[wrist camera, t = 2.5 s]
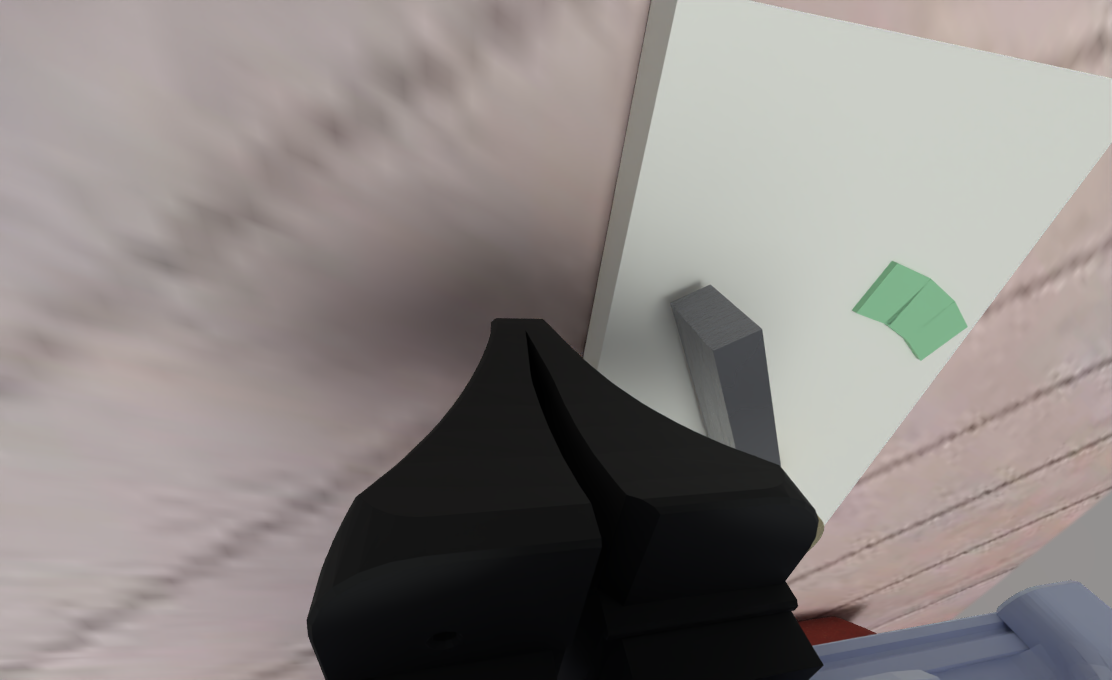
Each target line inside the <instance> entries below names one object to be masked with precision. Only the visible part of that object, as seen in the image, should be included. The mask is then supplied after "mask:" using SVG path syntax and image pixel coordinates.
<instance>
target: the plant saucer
mask: <svg viewBox="0 0 1112 680" xmlns="http://www.w3.org/2000/svg"><path fill="white" fill-rule="evenodd" d="M798 623H799V625H800V627H801V628H802V630H803V631H804V633H805V635H806V636H807V638H808V640H809V641H810V643H811V645H812V646H813V645H819V644H824V643H830V642H835V641H841V640H846V639H851V638H857V637H862V636H868V635H873V634H876V633H874V632H872V631H870V630H868V629H866V628H863V627H861V626H858V625H856V624H853V623H851V622H848V621H846V620H843V619H841V618H837V617H834V616H831V617H824V618H817V619H811V620H805V621H799V622H798Z"/></svg>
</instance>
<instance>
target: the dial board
mask: <svg viewBox="0 0 1112 680" xmlns="http://www.w3.org/2000/svg"><path fill="white" fill-rule="evenodd" d="M1111 143H1112V78H1108V77H1103V76H1099V75H1094V74H1089V73H1085V72H1080V71H1075V70H1071V69H1066V68H1061V67H1057V66H1052V65H1047V64H1043V63H1038V62H1033V61H1029V60H1024V59H1019V58H1015V57H1010V56H1005V55H1001V54H996V53H992V52H987V51H982V50H978V49H973V48H968V47H964V46H959V45H954V44H950V43H945V42H940V41H936V40H931V39H926V38H922V37H917V36H912V35H908V34H903V33H898V32H894V31H889V30H884V29H880V28H875V27H870V26H866V25H861V24H856V23H852V22H847V21H843V20H838V19H833V18H829V17H824V16H819V15H815V14H810V13H805V12H801V11H796V10H791V9H787V8H782V7H777V6H773V5H768V4H763V3H759V2H754V1H749V0H651V5H650V11H649V16H648V21H647V26H646V31H645V37H644V42H643V47H642V52H641V58H640V63H639V68H638V73H637V79H636V84H635V89H634V94H633V100H632V105H631V110H630V115H629V120H628V126H627V131H626V136H625V141H624V147H623V152H622V157H621V162H620V168H619V173H618V178H617V183H616V188H615V194H614V199H613V204H612V209H611V215H610V220H609V225H608V230H607V236H606V241H605V246H604V251H603V256H602V262H601V267H600V272H599V277H598V283H597V288H596V293H595V298H594V304H593V309H592V314H591V319H590V325H589V330H588V335H587V340H586V345H585V351H584V356H583V359H584V360H585V361H587V362H588V363H589V364H590V365H591V366H592V367H593V368H595V369H596V370H597V371H598V372H600V373H601V374H602V375H603V376H605V377H606V378H607V379H608V380H610V381H611V382H612V383H614V384H615V385H616V386H618V387H619V388H621V389H622V390H624V391H625V392H627V393H628V394H629V395H631V396H632V397H634V398H635V399H637V400H638V401H640V402H642V403H643V404H645V405H647V406H648V407H650V408H652V409H653V410H655V411H657V412H659V413H661V414H662V415H664V416H666V417H668V418H670V419H671V420H673V421H675V422H677V423H679V424H681V425H683V426H685V427H687V428H689V429H691V430H693V431H695V432H697V433H700V434H702V435H704V436H706V437H709V436H708V433H707V429H706V426H705V422H704V419H703V416H702V412H701V409H700V405H699V402H698V398H697V395H696V391H695V388H694V384H693V381H692V377H691V374H690V370H689V367H688V364H687V360H686V357H685V353H684V350H683V346H682V343H681V339H680V336H679V332H678V329H677V325H676V322H675V319H674V315H673V312H672V308H671V305H670V303H671V302H673V301H675V300H677V299H679V298H682V297H684V296H686V295H688V294H690V293H693V292H695V291H697V290H699V289H701V288H704V287H706V286H708V285H710V284H711V285H712V286H713V287H714V288H715V289H716V290H718V291H719V292H720V293H721V294H722V295H723V296H725V297H726V298H727V299H728V300H729V301H730V302H731V303H733V304H734V305H735V306H736V307H737V308H738V309H740V310H741V311H742V312H743V313H744V314H745V315H747V316H748V317H749V318H750V319H751V320H752V321H753V322H755V323H756V324H757V325H758V326H759V327H760V328H762V331H763V338H764V345H765V353H766V360H767V367H768V375H769V382H770V389H771V397H772V404H773V411H774V419H775V426H776V433H777V441H778V448H779V455H780V463H781V468H782V469H783V470H784V471H785V472H786V474H787V475H788V476H789V477H790V479H791V480H792V481H793V482H794V484H795V485H796V486H797V487H798V489H799V490H800V491H801V492H802V494H803V495H804V496H805V497H806V499H807V500H808V501H809V502H810V504H811V505H812V506H813V507H814V509H815V510H816V513H817V515H818V516H819V517H820V519H821V520H822V521H823V523H824V525H825V524H826V523H827V521H828V520H829V519H830V517H831V516H832V515H833V513H834V512H835V511H836V509H837V508H838V507H839V505H840V504H841V503H842V501H843V500H844V499H845V497H846V496H847V495H848V493H849V492H850V491H851V489H852V488H853V487H854V485H855V484H856V483H857V481H858V480H859V479H860V477H861V476H862V475H863V473H864V472H865V471H866V469H867V468H868V467H869V465H870V464H871V463H872V461H873V460H874V459H875V457H876V456H877V455H878V453H879V452H880V451H881V449H882V448H883V447H884V445H885V444H886V443H887V441H888V440H889V439H890V437H891V436H892V435H893V433H894V432H895V431H896V429H897V428H898V427H899V425H900V424H901V423H902V421H903V420H904V419H905V417H906V416H907V415H908V413H909V412H910V411H911V409H912V408H913V407H914V405H915V404H916V403H917V401H918V400H919V399H920V397H921V396H922V395H923V393H924V392H925V391H926V389H927V388H928V387H929V385H930V384H931V383H932V381H933V380H934V379H935V377H936V376H937V375H938V373H939V372H940V371H941V369H942V368H943V367H944V365H945V364H946V363H947V361H948V360H949V359H950V357H951V356H952V355H953V353H954V352H955V351H956V349H957V348H958V347H959V345H960V344H961V343H962V341H963V340H964V339H965V337H966V336H967V335H968V333H969V332H970V331H971V329H972V328H973V327H974V325H975V324H976V323H977V321H978V320H979V319H980V317H981V316H982V315H983V313H984V312H985V311H986V309H987V308H988V307H989V305H990V304H991V303H992V301H993V300H994V299H995V297H996V296H997V295H998V293H999V292H1000V291H1001V289H1002V288H1003V287H1004V285H1005V284H1006V283H1007V281H1008V280H1009V279H1010V277H1011V276H1012V275H1013V273H1014V272H1015V271H1016V269H1017V268H1018V267H1019V265H1020V264H1021V263H1022V261H1023V260H1024V259H1025V257H1026V256H1027V255H1028V253H1029V252H1030V251H1031V249H1032V248H1033V247H1034V245H1035V244H1036V243H1037V242H1038V240H1039V239H1040V238H1041V236H1042V235H1043V234H1044V232H1045V231H1046V230H1047V228H1048V227H1049V226H1050V224H1051V223H1052V222H1053V220H1054V219H1055V218H1056V216H1057V215H1058V214H1059V212H1060V211H1061V210H1062V208H1063V207H1064V206H1065V204H1066V203H1067V202H1068V200H1069V199H1070V198H1071V196H1072V195H1073V194H1074V192H1075V191H1076V190H1077V188H1078V187H1079V186H1080V184H1081V183H1082V182H1083V180H1084V179H1085V178H1086V176H1087V175H1088V174H1089V172H1090V171H1091V170H1092V168H1093V167H1094V166H1095V164H1096V163H1097V162H1098V160H1099V159H1100V158H1101V156H1102V155H1103V154H1104V152H1105V151H1106V150H1107V148H1108V147H1109V146H1110V144H1111Z"/></svg>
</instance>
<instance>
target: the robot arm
mask: <svg viewBox="0 0 1112 680" xmlns="http://www.w3.org/2000/svg"><path fill="white" fill-rule="evenodd" d="M818 523H819V519H818V516H817V513H816V510H815V509H814V507H813V506H812V505H811V504H810V502H809V501H808V500H807V499H806V497H805V496H804V495H803V494H802V492H801V491H800V490H799V489H798V487H797V486H796V485H795V484H794V482H793V481H792V480H791V479H790V477H789V476H788V475H787V474H786V472H785V471H784V470H783V469H782V468H781V466H780V465H778V464H775V463H772V462H770V461H767V460H764V459H762V458H759V457H756V456H754V455H751V454H748V453H746V452H743V451H740V450H737V449H735V448H732V447H729V446H727V445H724V444H722V443H720V442H717V441H715V440H713V439H711V438H709V437H706V436H704V435H702V434H700V433H697V432H695V431H693V430H691V429H689V428H687V427H685V426H683V425H681V424H679V423H677V422H675V421H673V420H671V419H670V418H668V417H666V416H664V415H662V414H661V413H659V412H657V411H655V410H653V409H652V408H650V407H648V406H647V405H645V404H643V403H642V402H640V401H638V400H637V399H635V398H634V397H632V396H631V395H629V394H628V393H627V392H625V391H624V390H622V389H621V388H619V387H618V386H616V385H615V384H614V383H612V382H611V381H610V380H608V379H607V378H606V377H605V376H603V375H602V374H601V373H600V372H598V371H597V370H596V369H595V368H593V367H592V366H591V365H590V364H589V363H588V362H587V361H585V360H584V359H583V358H582V357H581V356H580V355H579V354H578V353H577V352H576V351H575V350H573V349H572V348H571V347H570V346H569V345H568V344H567V343H566V342H565V341H564V340H563V339H562V338H561V337H560V336H559V335H558V334H557V333H556V332H555V331H554V330H553V329H552V328H551V327H550V325H549V324H548V323H547V322H546V321H544V320H543V319H510V318H496V319H494V320H493V321H492V322H491V334H490V338H489V341H488V344H487V347H486V349H485V351H484V354H483V356H482V359H481V361H480V363H479V365H478V367H477V368H476V370H475V372H474V374H473V376H472V378H471V379H470V381H469V383H468V384H467V386H466V387H465V389H464V391H463V392H462V394H461V395H460V396H459V398H458V399H457V401H456V402H455V403H454V405H453V406H452V407H451V409H450V410H449V411H448V412H447V413H446V415H445V416H444V417H443V418H442V420H441V421H440V422H439V423H438V424H437V425H436V427H435V428H434V429H433V430H432V431H431V432H430V433H429V434H428V435H427V436H426V437H425V438H424V439H423V440H422V441H421V442H420V443H419V444H418V445H417V446H416V447H415V448H414V449H413V450H412V451H411V452H410V453H409V454H408V455H407V456H406V457H404V458H403V459H402V460H401V461H400V462H399V463H398V464H397V465H396V466H394V467H393V468H392V469H391V470H389V471H388V472H387V473H386V474H384V475H383V476H382V477H381V478H379V479H378V480H377V481H376V482H374V483H373V484H372V485H371V486H369V487H368V488H367V489H366V490H364V491H363V492H362V493H361V494H359V495H358V496H357V497H356V498H355V499H354V501H353V503H352V505H351V507H350V508H349V510H348V512H347V514H346V516H345V518H344V520H343V522H342V523H341V526H340V528H339V530H338V532H337V534H336V536H335V538H334V540H333V542H332V545H331V547H330V550H329V552H328V554H327V557H326V559H325V561H324V564H323V567H322V570H321V572H320V576H319V579H318V583H317V586H316V590H315V593H314V597H313V600H312V604H311V607H310V610H309V614H308V617H307V630H308V637H309V639H310V642H311V644H312V647H313V649H314V652H315V654H316V657H317V660H318V662H319V665H320V667H321V670H322V672H323V675H324V677H325V680H1112V609H1111V608H1110V607H1109V606H1108V605H1106V604H1105V603H1104V602H1103V601H1102V600H1100V599H1099V598H1098V597H1097V596H1096V595H1095V594H1093V593H1092V592H1091V591H1090V590H1089V589H1087V588H1086V587H1085V586H1084V585H1082V584H1081V583H1080V582H1078V581H1073V580H1068V581H1062V582H1056V583H1051V584H1044V585H1039V586H1034V587H1030V588H1027V589H1025V590H1023V591H1020V592H1018V593H1016V594H1015V595H1013V596H1012V597H1010V598H1009V599H1007V600H1006V601H1005V602H1003V603H1002V604H1001V605H1000V606H999V607H998V608H997V612H993V613H988V614H982V615H977V616H971V617H966V618H960V619H955V620H950V621H944V622H939V623H933V624H928V625H922V626H917V627H911V628H906V629H900V630H895V631H890V632H884V633H879V634H873V635H868V636H862V637H857V638H851V639H846V640H841V641H835V642H830V643H824V644H819V645H813V646H812V645H811V643H810V641H809V640H808V638H807V636H806V635H805V633H804V631H803V630H802V628H801V627H800V625H799V623H798V622H797V620H796V618H795V617H794V615H793V613H792V612H791V611H794V610H795V609H796V608H797V607H798V603H797V599H796V597H795V596H794V594H793V593H792V591H791V590H790V588H789V586H788V585H787V583H786V582H785V581H786V579H787V578H788V577H789V575H790V574H791V573H792V571H793V570H794V569H795V567H796V566H797V565H798V563H799V562H800V561H801V559H802V558H803V557H804V555H805V554H806V553H807V551H808V550H809V549H810V547H811V545H812V543H813V542H814V540H815V538H816V534H817V529H818Z"/></svg>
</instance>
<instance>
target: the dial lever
mask: <svg viewBox="0 0 1112 680" xmlns="http://www.w3.org/2000/svg"><path fill="white" fill-rule="evenodd" d="M670 305H671V308H672V312H673V315H674V319H675V322H676V325H677V329H678V332H679V336H680V339H681V343H682V346H683V350H684V353H685V357H686V360H687V364H688V367H689V370H690V374H691V377H692V381H693V384H694V388H695V391H696V395H697V398H698V402H699V405H700V409H701V412H702V416H703V419H704V422H705V426H706V429H707V433H708V436H709V438H711V439H713V440H715V441H717V442H720V443H722V444H724V445H727V446H729V447H732V448H735V449H737V450H740V451H743V452H746V453H748V454H751V455H754V456H756V457H759V458H762V459H764V460H767V461H770V462H772V463H775V464H778V465H780V466H781V463H780V455H779V448H778V441H777V433H776V426H775V419H774V411H773V404H772V397H771V389H770V382H769V375H768V367H767V360H766V353H765V345H764V338H763V331H762V328H760V327H759V326H758V325H757V324H756V323H755V322H753V321H752V320H751V319H750V318H749V317H748V316H747V315H745V314H744V313H743V312H742V311H741V310H740V309H738V308H737V307H736V306H735V305H734V304H733V303H731V302H730V301H729V300H728V299H727V298H726V297H725V296H723V295H722V294H721V293H720V292H719V291H718V290H716V289H715V288H714V287H713V286H712V285H711V284H710V285H708V286H706V287H704V288H701V289H699V290H697V291H695V292H693V293H690V294H688V295H686V296H684V297H682V298H679V299H677V300H675V301H673V302H671V303H670ZM817 516H818V515H817ZM818 519H819V523H818V529H817V534H816V538H815V540H814V542H813V543H812V545H811V547H810V549H811V548H812V547H813V546H814V545H815V544H816V543H817V542H818V541H819V539H820V538H821V536H822V534H823V531H824V523H823V521H822V520H821V519H820V517H819V516H818ZM810 549H809V550H810ZM809 550H808V551H809ZM808 551H807V552H808Z"/></svg>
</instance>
